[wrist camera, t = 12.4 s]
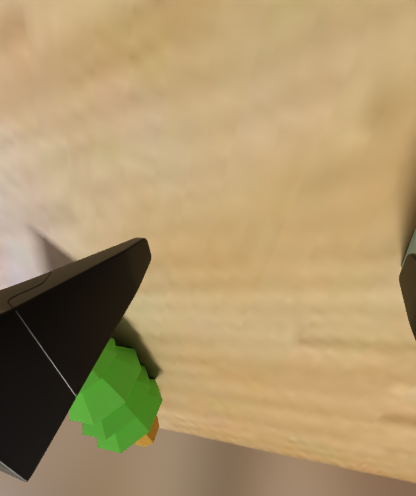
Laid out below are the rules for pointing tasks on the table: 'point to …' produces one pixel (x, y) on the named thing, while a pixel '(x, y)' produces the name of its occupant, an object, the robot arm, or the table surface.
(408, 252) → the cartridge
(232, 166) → the table surface
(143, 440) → the decorative tree
